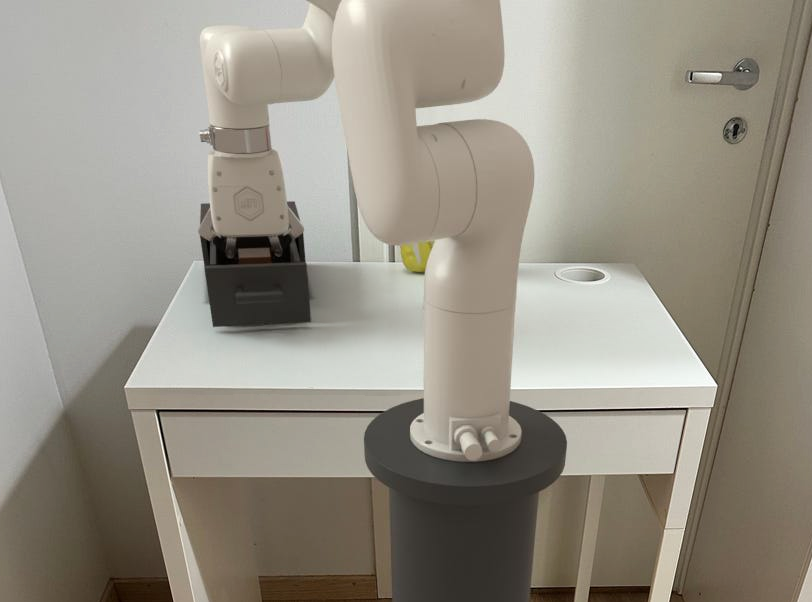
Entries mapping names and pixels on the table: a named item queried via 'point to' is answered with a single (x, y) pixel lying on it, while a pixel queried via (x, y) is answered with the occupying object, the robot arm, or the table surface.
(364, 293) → the table surface
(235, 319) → the drawer
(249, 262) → the block
